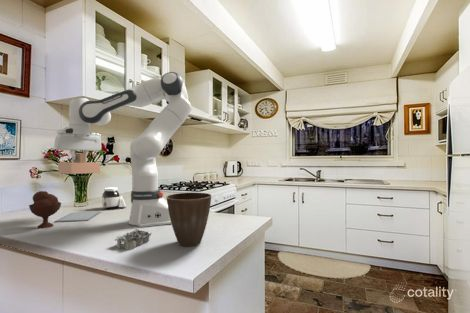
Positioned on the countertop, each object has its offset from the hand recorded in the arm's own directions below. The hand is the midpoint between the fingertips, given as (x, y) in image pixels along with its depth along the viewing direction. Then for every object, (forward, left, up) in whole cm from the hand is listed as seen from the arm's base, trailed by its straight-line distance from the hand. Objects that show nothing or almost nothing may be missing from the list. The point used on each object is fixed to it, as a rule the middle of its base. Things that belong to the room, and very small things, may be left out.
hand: (79, 159), depth 124 cm
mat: (0, 0, -28) cm, 28 cm away
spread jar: (-11, -20, -28) cm, 36 cm away
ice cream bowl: (+7, +16, -28) cm, 33 cm away
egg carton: (-34, +46, -28) cm, 63 cm away
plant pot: (-52, +49, -28) cm, 77 cm away
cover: (0, 0, -6) cm, 6 cm away
